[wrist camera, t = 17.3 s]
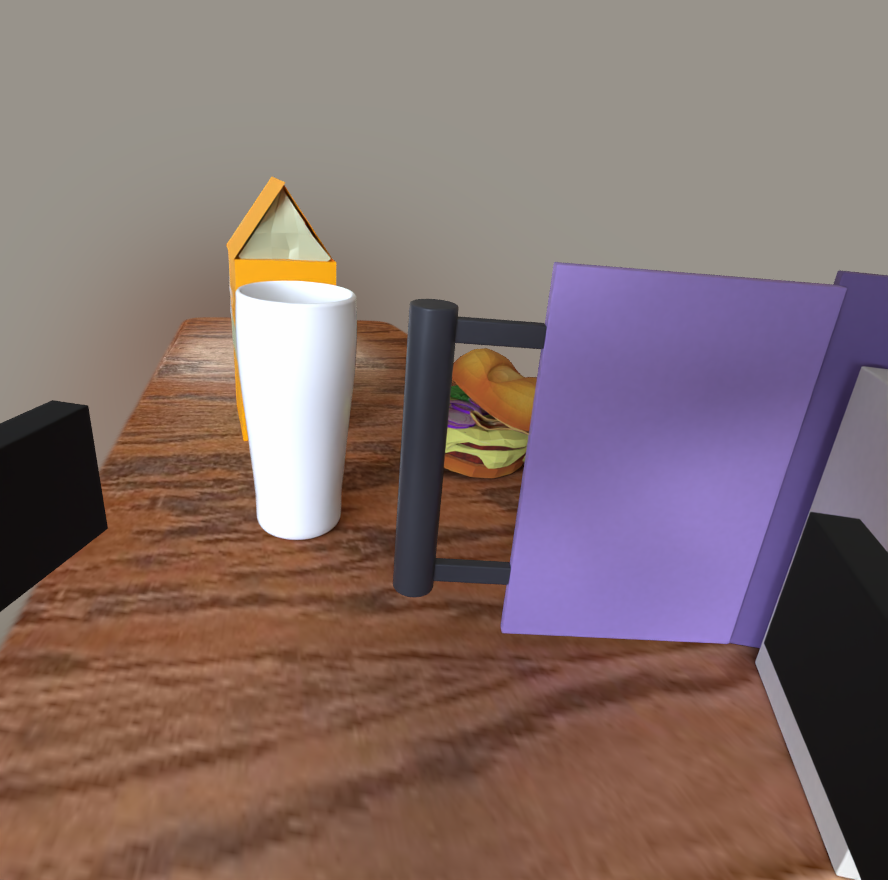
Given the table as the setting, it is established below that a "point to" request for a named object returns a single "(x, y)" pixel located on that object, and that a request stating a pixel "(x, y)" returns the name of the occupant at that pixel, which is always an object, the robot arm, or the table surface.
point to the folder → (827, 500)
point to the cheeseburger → (488, 416)
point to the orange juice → (274, 254)
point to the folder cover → (625, 447)
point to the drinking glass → (296, 399)
